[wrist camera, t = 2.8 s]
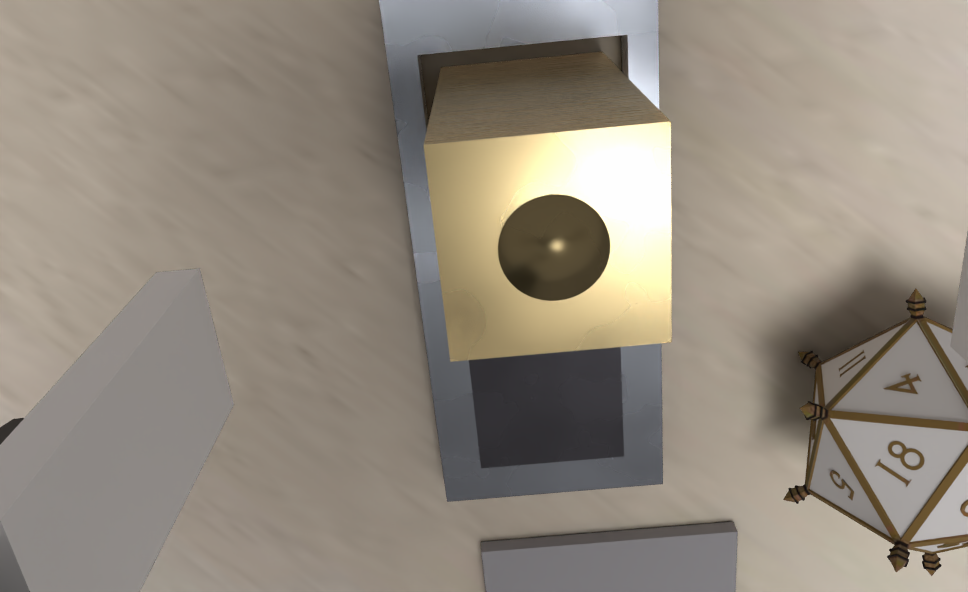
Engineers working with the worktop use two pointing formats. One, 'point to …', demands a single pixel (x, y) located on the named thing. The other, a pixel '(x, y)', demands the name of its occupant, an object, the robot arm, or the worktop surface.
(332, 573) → the worktop surface
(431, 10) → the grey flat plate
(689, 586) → the pad
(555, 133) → the brass block with hole
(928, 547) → the game die
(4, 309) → the worktop surface
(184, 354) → the robot arm
